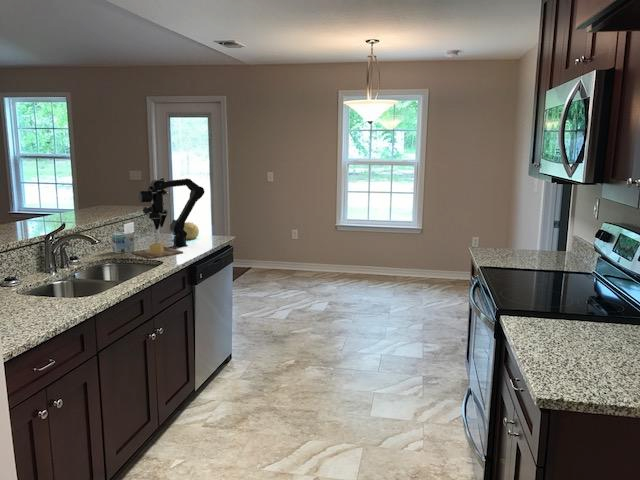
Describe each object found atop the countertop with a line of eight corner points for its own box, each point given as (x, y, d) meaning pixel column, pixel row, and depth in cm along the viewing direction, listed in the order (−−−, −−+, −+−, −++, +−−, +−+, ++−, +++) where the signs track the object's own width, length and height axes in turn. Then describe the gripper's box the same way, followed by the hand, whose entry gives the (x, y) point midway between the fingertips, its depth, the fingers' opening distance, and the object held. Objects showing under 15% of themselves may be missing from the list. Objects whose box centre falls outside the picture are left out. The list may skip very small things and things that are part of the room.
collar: (153, 251, 286) (152, 242, 285) (164, 251, 286) (163, 242, 285) (150, 253, 280) (149, 245, 279) (161, 253, 280) (160, 245, 279)
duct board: (164, 248, 300) (164, 246, 300) (183, 253, 287) (183, 251, 287) (132, 253, 286) (132, 251, 286) (150, 258, 273) (150, 257, 273)
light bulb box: (116, 253, 285) (115, 234, 283) (112, 251, 290) (111, 233, 288) (135, 251, 292) (134, 232, 290) (131, 249, 297) (130, 231, 295)
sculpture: (176, 239, 328) (176, 223, 326) (186, 236, 339) (186, 220, 337) (192, 240, 325) (191, 223, 323) (202, 237, 336) (201, 221, 334)
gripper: (148, 199, 304) (150, 225, 306) (138, 203, 285) (140, 231, 288) (167, 200, 304) (168, 225, 307) (158, 203, 286) (160, 231, 288)
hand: (159, 228), depth 297 cm, fingers open, 9 cm apart
